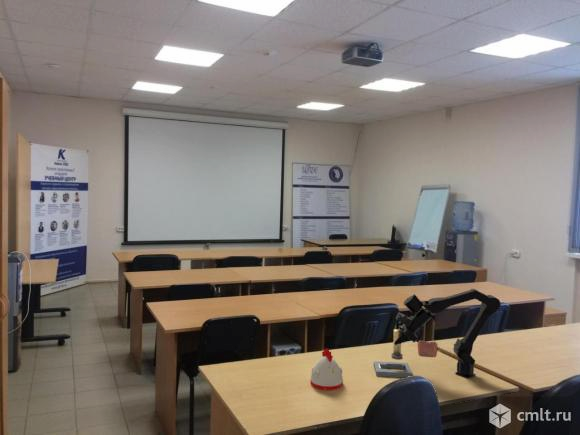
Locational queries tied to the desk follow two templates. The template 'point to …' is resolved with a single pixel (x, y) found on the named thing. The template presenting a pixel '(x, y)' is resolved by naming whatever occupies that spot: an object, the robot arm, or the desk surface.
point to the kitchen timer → (326, 373)
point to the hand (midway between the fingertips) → (394, 342)
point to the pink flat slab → (427, 348)
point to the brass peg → (397, 346)
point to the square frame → (392, 373)
